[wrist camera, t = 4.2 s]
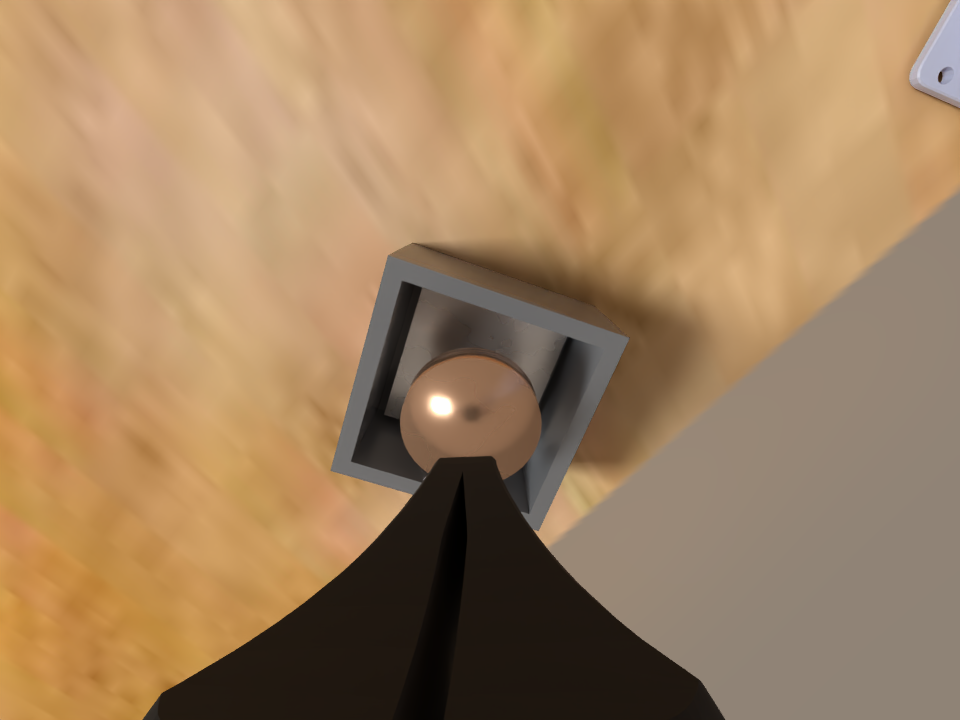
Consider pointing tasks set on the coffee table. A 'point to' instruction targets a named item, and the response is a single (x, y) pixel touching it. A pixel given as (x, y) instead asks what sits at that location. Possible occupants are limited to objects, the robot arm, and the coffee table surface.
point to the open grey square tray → (590, 334)
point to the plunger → (471, 383)
